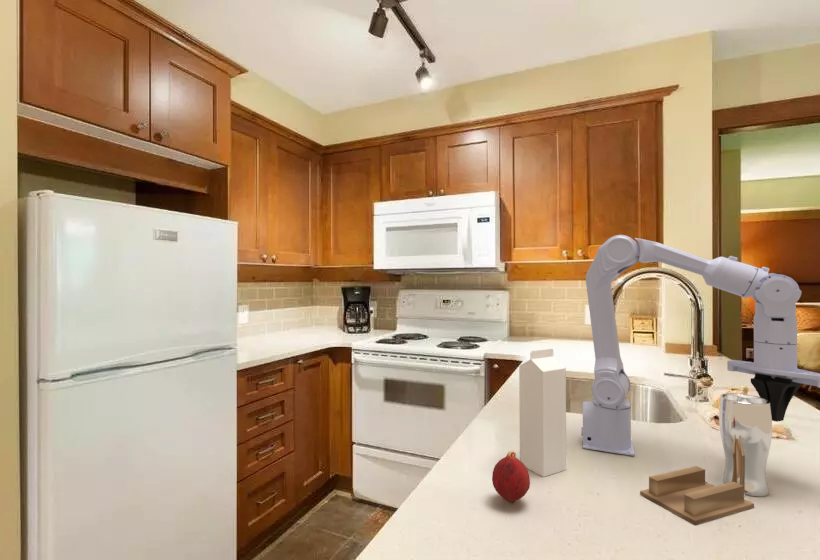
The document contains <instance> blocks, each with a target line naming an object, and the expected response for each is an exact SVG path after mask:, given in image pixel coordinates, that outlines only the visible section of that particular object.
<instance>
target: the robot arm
mask: <svg viewBox="0 0 820 560" xmlns="http://www.w3.org/2000/svg"><path fill="white" fill-rule="evenodd" d="M634 239H635V240H634ZM634 239H633V238H632V237H630V236H628V235H624V234H617V235H613V236H611V237H609V238H608V239H607V240H606V241H605V242H603V244H601V245H600V246H599V247H598V248H597V252H596V254H595V257H594V258H593V260H592V262H591V264H590V266H589V269H588V271H587V272H586V274H585V284H586V285H585V286H586V292H587V302H588V309H589V318H590V325H591V326H590V328H591V333H592V341H593V350H594V358H595V362H594V369H593V372H594V373H593V374H594V379H593V382H592V384H591V394H592V397H593V398H592V400H591V401H583V402H582V427H581V432H580V433H581V437H582V448H583V449H585V450H592V451H599V452H600V451H601V452H604V453H605V452H606V453H613V454H619V455H624V456H625V455H626V456H632V457H633V456H635V450H634V449H635V448H634V446H633V444H634V443H633V441H632V421H631V420H632V416H631V414H632V410H631V409H632V408H631V405H632V404H631V402H630V400H628V398H627V394H628V393H629V392H630V390H631V380H630V378H629V377H628V375H627V373H626V372H625V369H624V362H623V361H622V357H621V351H620V345H619V335H618V328H617V322H616V321H617V320H616V312H615V305H614V304H615V303H614V295H613V290H612V289H613V288H612V283H613V282H614V281H615V280H616V279H617V278H619V276H620V275H621V274H622V273H623V272H624V271H625V270H628V269H630V268H631V267H633V266H635V265H636V264H637V263H642V264H647V263H655V262H656V263H657V262H658V263H662V264H665V265H668V266H672V267H674V268H678V269H680V270H684V271H688V272H690V273H693V274H696V275H700V276H702V278H703V280H704V283H705V284H706V285H707V286H710V287H712V288H715V289H719V290H721V291H723V292H724V291H725V292H727V293H730V294H733V295H736V296H739V297H741V298H745V299H747V298H752V299H753V300H754V301H755V302H754V315H753V362H752V361H746V360H738V359H737V360H736V359H731V360H730V359H729V360H727V361H726V362H727V371H729V372H736V373H737V372H738V373H744V374H749V375H754V377H751V378H750V384H751V385H752V386H753V387H754V390H755V391H756V393H757V394H758V397H761V398H764V399H767V400H769V401H770V407H771V416H772V422H782V421H784V419H785V416H786V412H787V409H788V407H789V405H790V402H791V400H792V399H793V397H794V396H795V394H796V393H797V391H798V390H799V389H800V388H801V385H802V384H803V385H808V386H813V387H817V388H819V389H820V373H819V372H814V371H810V370H806V369H802V368H801V369H800V368H798V317H797V316H796V315H797V307H796V306H797V305H796V303H797V302H798V301H799V300H800V298H801V296H802V290H801V289H800V287H799V284H798V283H797V281H795V280H794V279H793V278H792V277H790V276H787V275H786V274H777V273H772V272H771V273H769V272H770V268H769V267H766V266H762V267H761V268H760V267H757V266H753V265H750V264H747V263H743V262H740V261H738V260H739V259H738V258H739V257H736V256H733V255H730V256H728V257H725V256H718V257H716V258H713V259H711V260H710V259H706V258H703V257H701V256H697V255H695V254H692V253H690V252H688V251H687V252H686V251H683V250H681V249H679V248H675V247H672V246H669V245H666V244H663V243H660V242H657V241H652V240H648V239H644V238H637V237H634Z"/></svg>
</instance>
